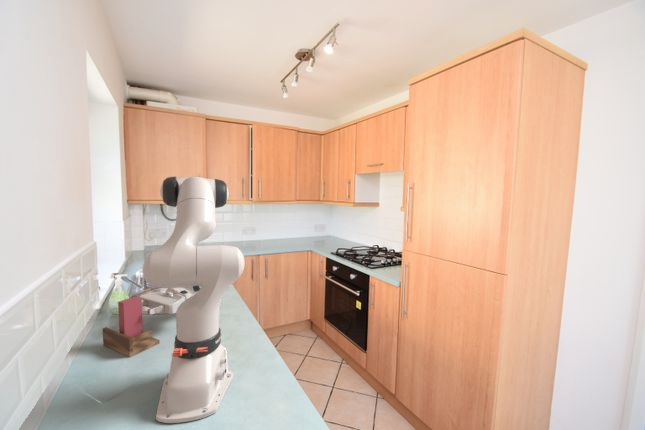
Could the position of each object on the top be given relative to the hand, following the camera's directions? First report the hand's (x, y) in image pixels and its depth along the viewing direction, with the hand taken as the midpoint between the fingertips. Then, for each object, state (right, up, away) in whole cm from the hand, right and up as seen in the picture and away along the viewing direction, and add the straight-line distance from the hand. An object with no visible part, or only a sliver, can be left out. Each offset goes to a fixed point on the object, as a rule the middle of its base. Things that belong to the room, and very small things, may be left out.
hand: (140, 309), depth 103 cm
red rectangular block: (-1, -10, -3) cm, 11 cm away
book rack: (-2, -11, -2) cm, 12 cm away
